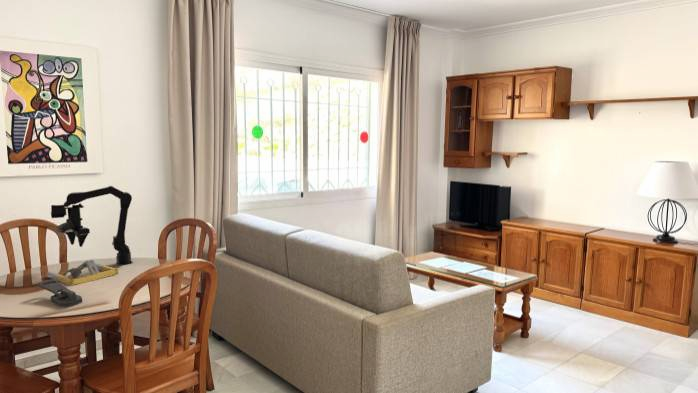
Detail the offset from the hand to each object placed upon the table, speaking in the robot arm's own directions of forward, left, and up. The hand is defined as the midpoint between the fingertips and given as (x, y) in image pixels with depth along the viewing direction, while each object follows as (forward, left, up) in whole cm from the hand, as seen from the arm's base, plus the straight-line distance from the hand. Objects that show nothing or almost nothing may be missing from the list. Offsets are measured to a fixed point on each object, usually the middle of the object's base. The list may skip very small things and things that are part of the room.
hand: (76, 245), depth 258 cm
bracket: (+8, +18, -13) cm, 24 cm away
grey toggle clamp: (+29, +45, -13) cm, 55 cm away
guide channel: (+5, +15, -12) cm, 20 cm away
